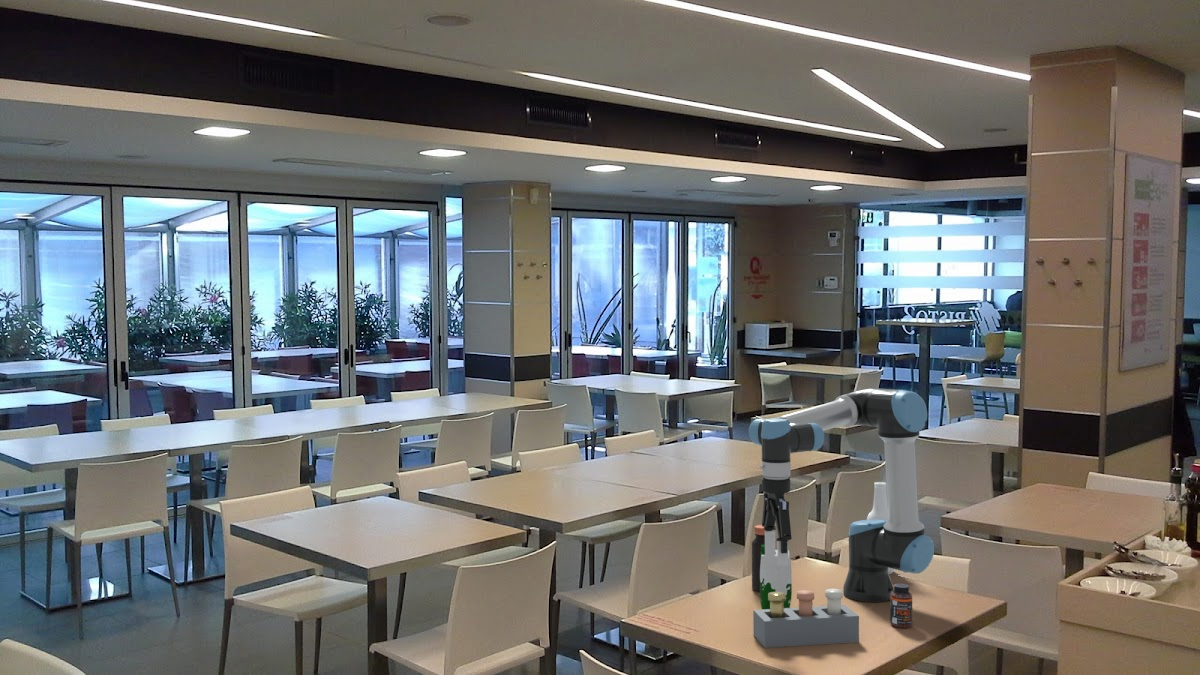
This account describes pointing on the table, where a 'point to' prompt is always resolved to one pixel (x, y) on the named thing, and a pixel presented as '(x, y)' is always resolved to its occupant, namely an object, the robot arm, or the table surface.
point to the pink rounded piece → (805, 602)
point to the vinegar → (757, 556)
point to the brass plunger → (776, 604)
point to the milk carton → (774, 578)
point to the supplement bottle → (901, 606)
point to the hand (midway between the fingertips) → (776, 559)
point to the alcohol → (880, 506)
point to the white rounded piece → (833, 601)
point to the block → (805, 627)
